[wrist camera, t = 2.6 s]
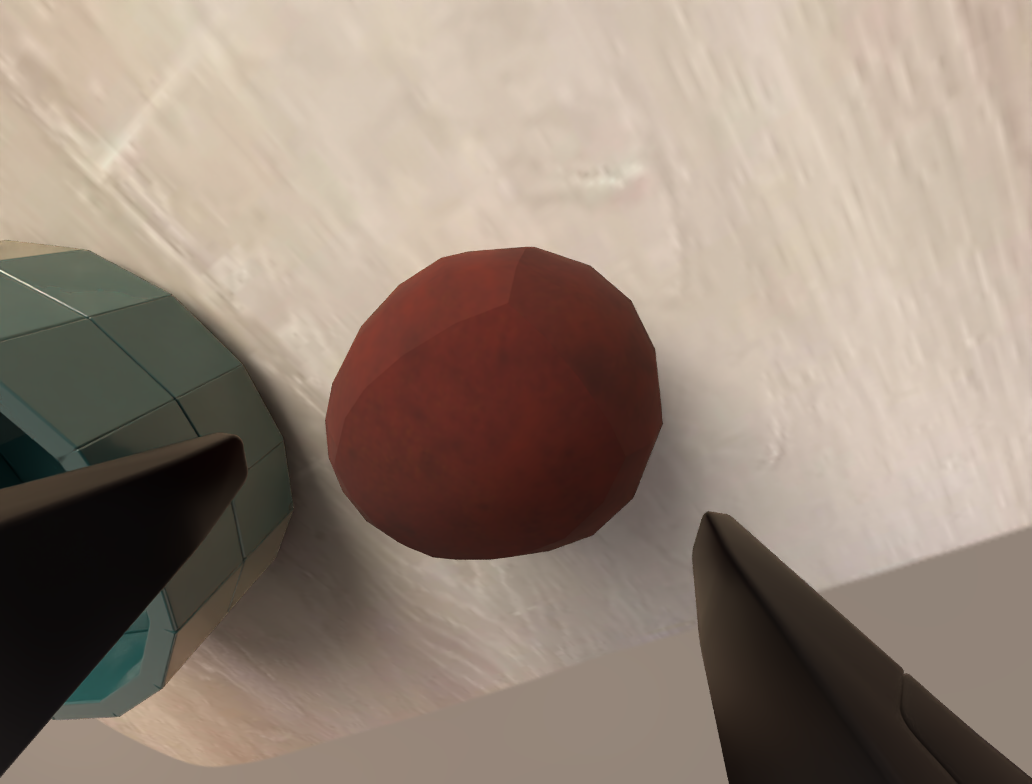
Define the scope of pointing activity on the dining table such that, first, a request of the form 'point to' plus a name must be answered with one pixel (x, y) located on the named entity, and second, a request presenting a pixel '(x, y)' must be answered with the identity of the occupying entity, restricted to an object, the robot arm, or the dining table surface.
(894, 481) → the dining table surface
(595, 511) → the potato
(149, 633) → the bowl
